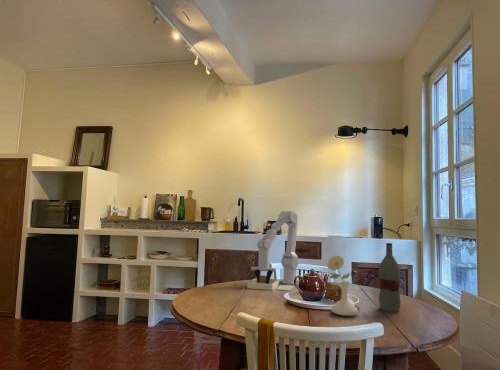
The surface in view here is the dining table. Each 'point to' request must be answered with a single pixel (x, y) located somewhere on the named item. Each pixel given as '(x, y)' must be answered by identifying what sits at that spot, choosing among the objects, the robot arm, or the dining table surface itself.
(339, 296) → the tin
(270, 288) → the cream tray
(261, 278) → the block
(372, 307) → the dining table surface
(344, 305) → the flower in vase
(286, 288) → the mat
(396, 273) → the bottle
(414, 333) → the dining table surface
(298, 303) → the dining table surface
